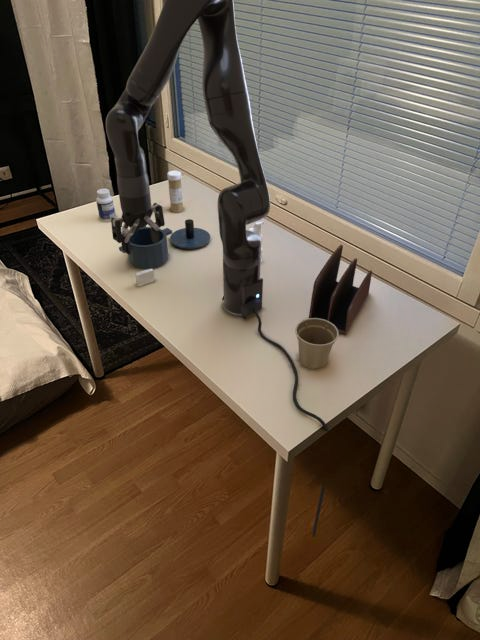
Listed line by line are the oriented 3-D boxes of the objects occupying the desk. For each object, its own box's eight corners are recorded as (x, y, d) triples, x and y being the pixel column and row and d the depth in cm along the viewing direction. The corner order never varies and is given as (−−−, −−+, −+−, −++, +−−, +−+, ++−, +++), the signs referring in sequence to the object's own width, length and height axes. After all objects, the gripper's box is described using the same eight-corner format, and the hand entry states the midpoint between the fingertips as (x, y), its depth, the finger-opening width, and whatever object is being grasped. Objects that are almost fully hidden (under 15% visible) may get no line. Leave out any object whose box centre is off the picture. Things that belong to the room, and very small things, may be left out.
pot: (183, 255, 149) (181, 233, 144) (135, 277, 140) (132, 254, 135) (160, 241, 156) (158, 220, 151) (113, 261, 146) (109, 239, 142)
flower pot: (329, 346, 117) (334, 317, 112) (337, 374, 110) (342, 344, 105) (290, 346, 117) (292, 318, 112) (295, 375, 110) (298, 345, 104)
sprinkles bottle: (178, 205, 175) (176, 168, 167) (186, 210, 173) (183, 172, 164) (167, 209, 173) (164, 172, 165) (175, 214, 170) (172, 176, 162)
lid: (218, 240, 156) (218, 221, 152) (187, 255, 149) (185, 235, 145) (193, 226, 163) (192, 208, 159) (162, 239, 156) (160, 220, 152)
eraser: (154, 281, 138) (153, 270, 136) (138, 286, 136) (136, 275, 134) (152, 279, 139) (151, 268, 137) (136, 284, 137) (134, 273, 135)
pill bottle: (99, 215, 169) (93, 188, 163) (114, 213, 171) (110, 186, 164) (100, 222, 165) (95, 195, 159) (116, 220, 167) (112, 193, 160)
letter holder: (307, 324, 124) (312, 276, 115) (333, 284, 137) (340, 239, 129) (345, 336, 120) (354, 288, 111) (369, 294, 134) (378, 248, 125)
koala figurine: (256, 251, 151) (257, 215, 144) (271, 260, 147) (273, 223, 140) (234, 261, 147) (234, 224, 139) (250, 270, 143) (250, 233, 135)
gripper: (149, 177, 127) (155, 233, 137) (100, 193, 119) (110, 251, 130) (166, 186, 123) (171, 244, 133) (116, 203, 115) (126, 263, 125)
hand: (141, 247), depth 131 cm, fingers open, 8 cm apart
